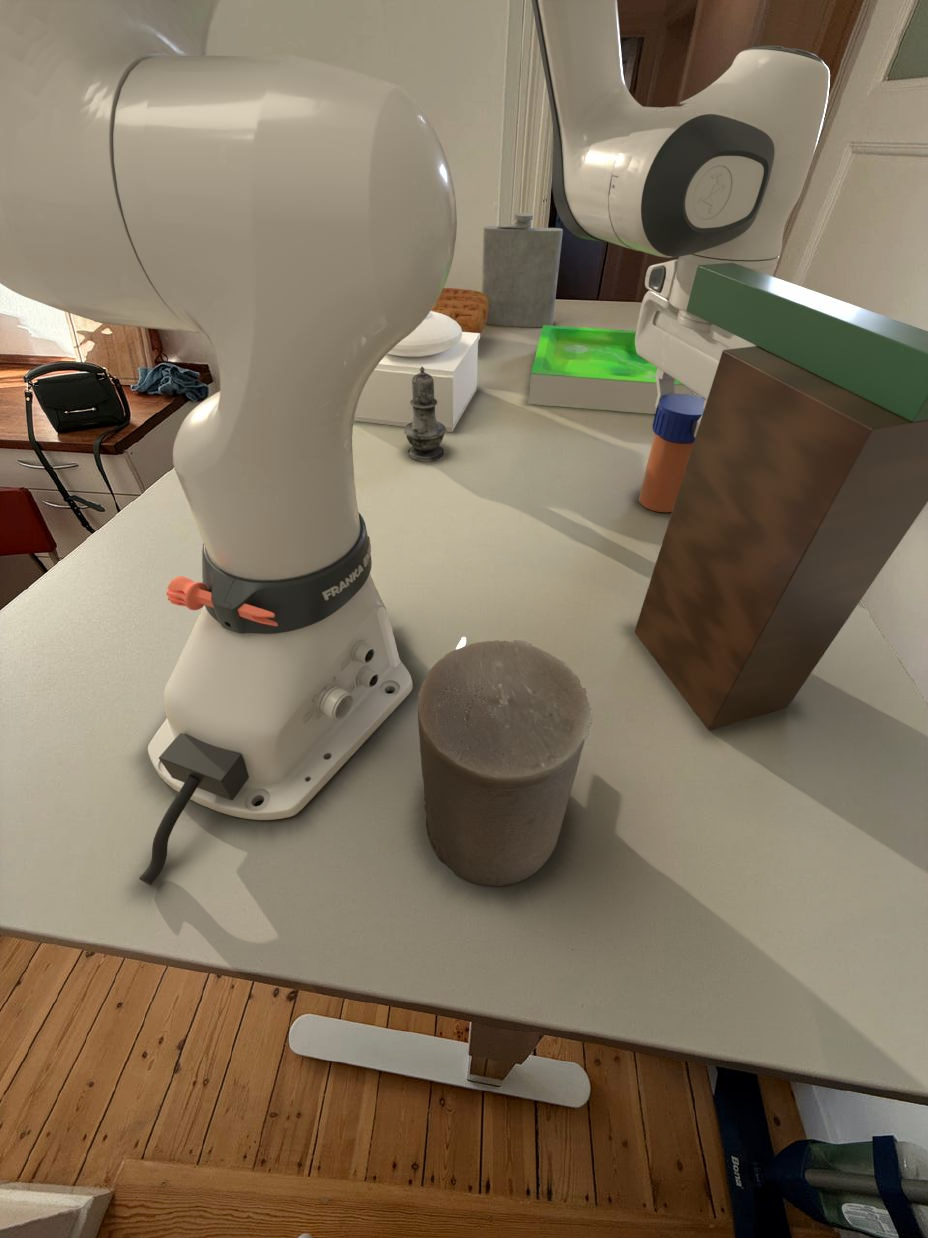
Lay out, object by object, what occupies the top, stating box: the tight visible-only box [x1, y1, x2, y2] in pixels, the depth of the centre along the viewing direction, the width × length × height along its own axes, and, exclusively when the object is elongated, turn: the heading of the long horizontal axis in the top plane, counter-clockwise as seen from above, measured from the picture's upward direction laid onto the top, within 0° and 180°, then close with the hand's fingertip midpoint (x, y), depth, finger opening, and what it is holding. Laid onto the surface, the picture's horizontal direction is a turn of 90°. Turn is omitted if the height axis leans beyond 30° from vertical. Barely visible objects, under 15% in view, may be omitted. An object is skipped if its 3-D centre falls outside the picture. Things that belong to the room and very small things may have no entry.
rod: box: [686, 263, 928, 422], centre depth 34 cm, size 20×3×3 cm, turn 18°
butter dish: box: [354, 311, 481, 433], centre depth 87 cm, size 18×18×16 cm
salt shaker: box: [403, 367, 447, 463], centre depth 75 cm, size 6×6×12 cm
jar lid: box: [651, 393, 705, 443], centre depth 63 cm, size 6×6×3 cm
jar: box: [638, 433, 693, 513], centre depth 67 cm, size 5×5×12 cm
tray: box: [528, 325, 692, 415], centre depth 98 cm, size 25×25×5 cm
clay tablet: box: [431, 287, 489, 336], centre depth 111 cm, size 22×17×8 cm
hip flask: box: [481, 212, 564, 328], centre depth 116 cm, size 16×4×20 cm, turn 83°
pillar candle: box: [417, 639, 593, 887], centre depth 35 cm, size 10×10×15 cm
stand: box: [634, 346, 928, 731], centre depth 42 cm, size 12×8×26 cm, turn 18°
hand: (680, 422), depth 64 cm, fingers closed on jar lid, 6 cm apart
